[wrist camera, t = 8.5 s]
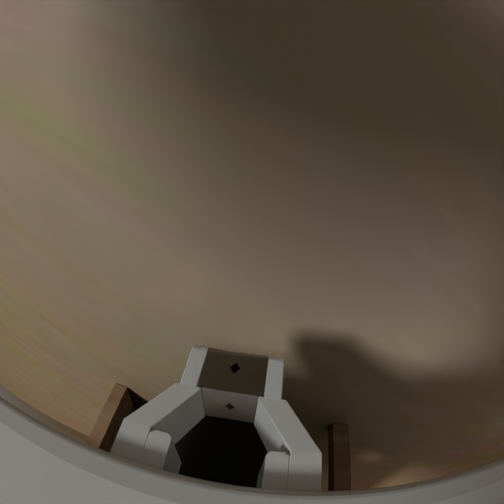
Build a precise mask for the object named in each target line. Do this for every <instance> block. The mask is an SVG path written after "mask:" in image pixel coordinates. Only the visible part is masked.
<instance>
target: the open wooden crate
mask: <svg viewBox="0 0 504 504" xmlns="http://www.w3.org/2000/svg"><path fill="white" fill-rule="evenodd" d="M135 411H136V410H135V408H134V405H133V403H132V400H131V397H130V394H129V392H128V389H127V387H125V386H122V385H119V384H115V386H114V388H113V390H112V392H111V394H110V396H109V398H108V400H107V402H106V404H105V406H104V408H103V410H102V412H101V414H100V416H99V418H98V420H97V422H96V424H95V426H94V428H93V430H92V432H91V434H90V436H89V439H88V441H87V444H89V445H92V446H94V447H96V448H99V449H101V450H104V451H106V452H109V453H110V451H111V448H112V446H113V443H114V441H115V438H116V436H117V434H118V431H119V429H120V426H121V424H122V422H123V419H124V418H126V417H127V416H129V415H130V414H132V413H133V412H135ZM328 453H329V482H328V491H345V490H351V476H350V453H349V435H348V425H341V424H333V425H332V426H331V428H330V429H329V431H328Z"/></svg>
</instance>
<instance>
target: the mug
mask: <svg viewBox="0 0 504 504" xmlns="http://www.w3.org/2000/svg"><path fill="white" fill-rule="evenodd" d="M204 416H205V417H204V418H202V419H201V420H200V421H199V422H198V423H197V424H196V425H195V426H194V427H193V428H192V429H191V430H190V431H189V432H188V433H187V434H185V435H184V436H183V437H182V438H181V439H180V440H179V441H178V442H177V443H176V444H174V445H175V448H176V450H177V453H178V455H179V458H180V460H181V466H180V470H179V475H184V476H188V477H192V478H197V479H202V480H207V481H212V482H218V483H224V484H230V485H237V486H244V487H253V488H256V487H257V481H258V475H259V472H260V470H261V467H262V464H263V462H264V459H265V456H266V454H267V453H268V452H267V450H266V448H265V446H264V444H263V442H262V440H261V438H260V436H259V434H258V432H257V430H256V427H255V425H254V423H251V422H244V421H238V420H233V419H227V418H220V417H213V416H207V415H204Z"/></svg>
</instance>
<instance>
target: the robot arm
mask: <svg viewBox="0 0 504 504" xmlns="http://www.w3.org/2000/svg"><path fill="white" fill-rule="evenodd" d="M283 375H284V358H279V357H270V356H269V357H268V356H264V355H255V354H247V353H236V352H230V351H225V350H219V349H214V348H209V347H203V346H198V345H194V346H193V348H192V350H191V353H190V355H189V358H188V361H187V364H186V367H185V370H184V373H183V376H182V379H181V381H180V383H174V384H173V385H171V386H170V387H169V388H167V389H166V390H165V391H163V392H162V393H160V394H159V395H158V396H156V397H155V398H153V399H152V400H150V401H149V402H148V403H146V404H145V405H143V406H142V407H140V408H139V409H138V410H136V411H135V412H133V413H132V414H130V415H129V416H127V417H126V418H124V419H123V422H122V424H121V426H120V429H119V431H118V434H117V436H116V438H115V441H114V443H113V446H112V448H111V451H110V453H109V452H106V451H104V450H101V449H99V448H96V447H94V446H92V445H89V444H87V443H85V442H82V441H80V440H78V439H76V438H73V437H71V436H69V435H67V434H65V433H63V432H61V431H59V430H57V429H55V428H53V427H51V426H49V425H47V424H45V423H44V422H42V421H40V420H38V419H36V418H35V417H33V416H31V415H29V414H28V413H26V412H24V411H23V410H21V409H19V408H18V407H16V406H14V405H13V404H11V403H10V402H8V401H7V400H5V399H4V398H2V397H1V396H0V504H504V458H502V459H499V460H496V461H494V462H491V463H488V464H485V465H482V466H479V467H476V468H473V469H469V470H466V471H463V472H459V473H455V474H451V475H448V476H443V477H439V478H435V479H430V480H425V481H420V482H415V483H409V484H403V485H397V486H390V487H381V488H372V489H361V490H345V491H321V473H322V453H321V451H320V450H319V448H318V447H317V445H316V444H315V443H314V441H313V440H312V438H311V437H310V435H309V434H308V432H307V431H306V429H305V428H304V426H303V425H302V423H301V422H300V420H299V419H298V417H297V416H296V414H295V413H294V411H293V409H292V408H291V406H290V405H289V403H288V402H287V400H283V399H282V390H283ZM204 415H207V416H213V417H220V418H227V419H233V420H238V421H244V422H251V423H254V425H255V427H256V430H257V432H258V434H259V436H260V438H261V440H262V442H263V444H264V446H265V448H266V450H267V452H268V453H267V454H266V456H265V459H264V462H263V464H262V467H261V470H260V472H259V475H258V481H257V487H256V488H253V487H244V486H237V485H230V484H224V483H218V482H212V481H207V480H202V479H197V478H192V477H188V476H184V475H179V470H180V466H181V460H180V458H179V455H178V453H177V450H176V448H175V445H174V444H176V443H177V442H178V441H179V440H180V439H181V438H182V437H183V436H184V435H185V434H187V433H188V432H189V431H190V430H191V429H192V428H193V427H194V426H195V425H196V424H197V423H198V422H199V421H200V420H201V419H202V418H204V417H205V416H204Z"/></svg>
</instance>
